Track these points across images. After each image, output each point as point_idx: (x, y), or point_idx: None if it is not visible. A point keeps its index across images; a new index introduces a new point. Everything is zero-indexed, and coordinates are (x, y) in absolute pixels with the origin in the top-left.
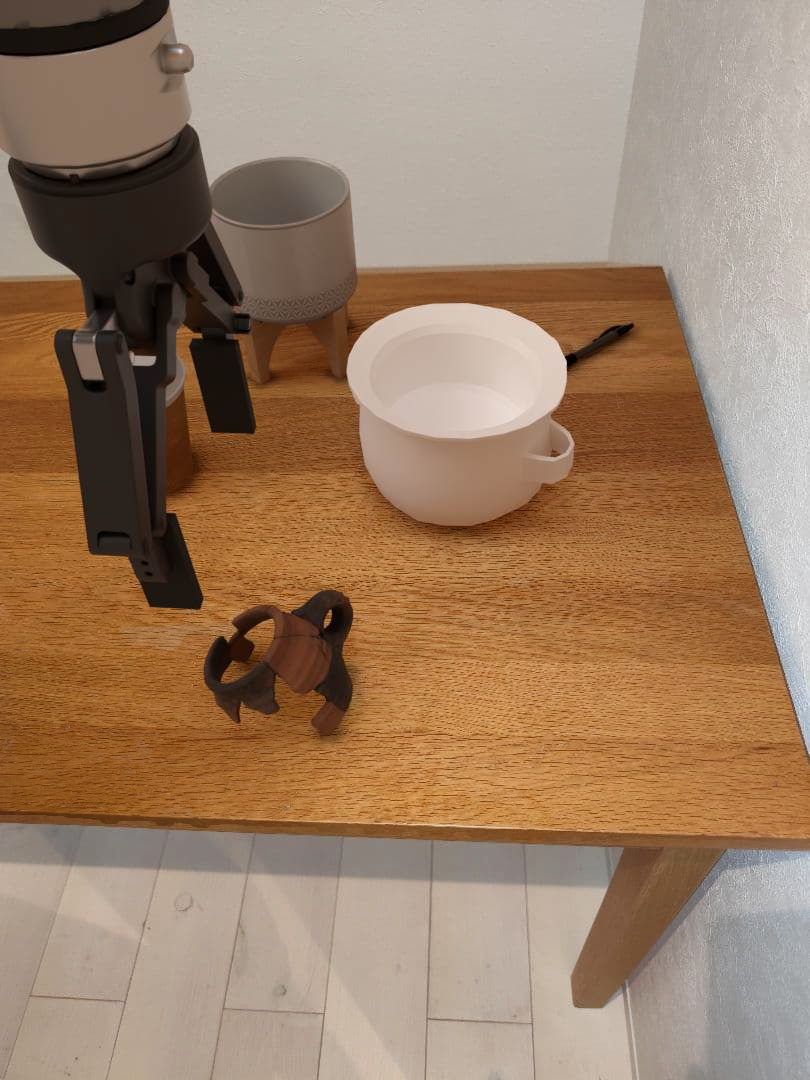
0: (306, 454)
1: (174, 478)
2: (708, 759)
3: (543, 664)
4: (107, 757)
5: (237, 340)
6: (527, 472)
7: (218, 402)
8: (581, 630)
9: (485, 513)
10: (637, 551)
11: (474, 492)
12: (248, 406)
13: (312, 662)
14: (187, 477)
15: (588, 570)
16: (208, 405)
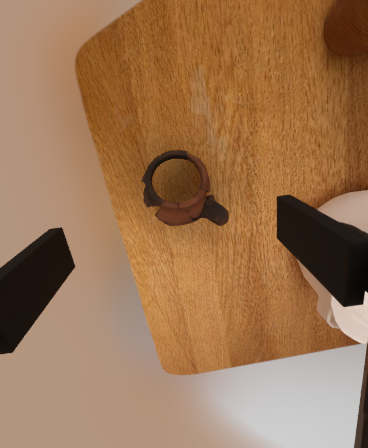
0: (364, 140)
1: (337, 47)
2: (185, 351)
3: (217, 295)
4: (114, 102)
5: (361, 303)
6: (322, 302)
7: (295, 226)
8: (238, 307)
9: (301, 270)
10: (287, 323)
11: (308, 276)
12: (293, 254)
13: (174, 221)
14: (342, 55)
15: (273, 306)
16: (293, 211)
